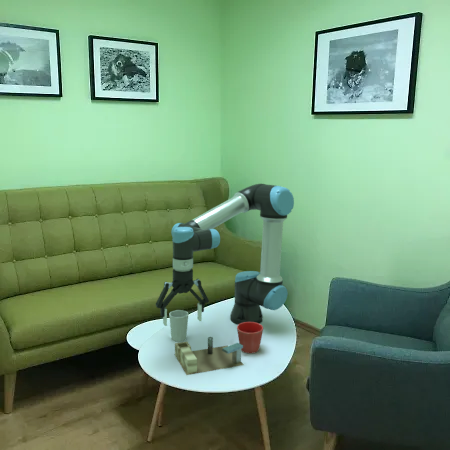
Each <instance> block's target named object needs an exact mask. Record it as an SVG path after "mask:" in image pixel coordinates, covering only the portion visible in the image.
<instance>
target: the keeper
mask: <svg viewBox="0 0 450 450" xmlns="http://www.w3.org/2000/svg"><path fill="white" fill-rule="evenodd" d="M226 346H227V347H225V348H222V351H223V352H225V353H227V354H229V353H231V352H232V361H233V362H234V363H236V364H237V363H239V362H242V351H241V348H243V345H241V344H239V342H235V343H232V344H230V345H226Z"/></svg>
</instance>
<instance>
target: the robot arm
mask: <svg viewBox="0 0 450 450" xmlns="http://www.w3.org/2000/svg"><path fill="white" fill-rule="evenodd" d="M294 199H295V198H294V196H293V193H292V192H291V191H290V189H289V188H287V187H284V186H282V185H276V184H275V185H273V184H265V183H255V184H253V185H252V184H251V185H250V186H247V187H245V188H242V189H241V190H238V191H237V192H235V193H234V194H233V196H232V197H230V198H229V199H227V200H225V201H224V202H222V203H220V204H218V205H216V206H214V207H212V208H210V209H209V210H207V211H205V212H204V213H202V214H200V215H198V216H196V217H195V218H193V219H190V220H188V221H187V222H185V223H184V222H177V223H175V224H174V225H173V226H172V228H171V233H170V234H171V236H172V238H171V239H172V281H171V282H167V281H165V282H163V287H162V290H161V291H160V294H159V296H158V297H157V301H156V303H155V307H156V308H157V309H160V317H161V318H162V324H163V325H164V326H165V327H167V326H168V309H167V307H168V305H169V304H170V302H171V301H172V300H173V299H174V297H175V296H177V295H178V294H179V295H180V294H188V293H189V292H190V293H191V295H192V296H194V298H195V299H196V300H197V301H198V303H197V320H198V321H199V322H202V319H203V318H202V317H203V316H202V313H204V311H205V306H206V303H207V304H208V303H209V302H210V299H209V298H208V295H207V293H205V289H204V288H203V286H202V281H201V280H200V279H199V278H196V279H195V280H194V270H193V268H194V253H195V252H200V251H205V250H207V251H208V250H212V249H215V248H218V246H219V245H220V244H221V243H220V242H221V236H220V233H219V231H218V230H217V229H215V228H217V227H219V226H220V225H221V224H223V223H225V222H227V221H229V220H230V219H232V218H234V217H236V216H238V215H240V214H241V213H244V214H245V213H247V212H249V211H252V210H253V211H254V210H255V211H256V210H258V211H259V217H260V218H261V220H262V233H261V234H262V237H261V255H260V267H259V268H260V271H255V270H246V271H245V270H244V271H241V272H237V274H236V275H235V279H234V280H235V281H234V305H233V307H232V310H231V312H230V321H231V322H232V323H233V324H235V325H237V326H238V325H239V324H240V323H243V322H255V323H259V324H261V323H263V318H264V316H263V312H262V308H264V309H268V310H271V311H277V310H278V309H280V308H282V307H283V306H284V304H285V303H286V301H287V299H288V289H287V288H286V286H284V285H283V284H284V283H283V282H284V279H283V277H282V276H281V262H282V261H281V259H282V258H281V257H282V248H283V247H282V246H283V245H282V244H283V231H284V228H283V227H284V222H285V221H286V220H287V219H288V215H290V214H291V212H292V210H293V209H294V205H295V200H294ZM194 285H195V286H196V287H197V289H198V291H199V293H200V295H201V297H202V298H203V299H202V298H201V297H200V296H199V294H197V292H195V290H194V289H192V288H193V286H194ZM171 287H172V289H171ZM169 289H171V290H170V293H168V292H169ZM167 294H168V295H167ZM261 307H262V308H261Z"/></svg>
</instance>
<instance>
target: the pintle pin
mask: <svg viewBox="0 0 450 450" xmlns="http://www.w3.org/2000/svg"><path fill="white" fill-rule="evenodd" d="M213 344H214V338H213V336H208V337H207V349H208V354H213V348H214V347H213Z"/></svg>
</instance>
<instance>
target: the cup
mask: <svg viewBox="0 0 450 450" xmlns="http://www.w3.org/2000/svg"><path fill="white" fill-rule="evenodd" d="M168 315H169V324H170V325H169V326H170V338H171V340H172V341H174V342H175V343H180V342H185V341H186V340H187V333H188V324H189V323H188V321H189V312H188V311H186V310H183V309H182V310H181V309H176V310H172V311H170V312H169V313H168Z"/></svg>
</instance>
